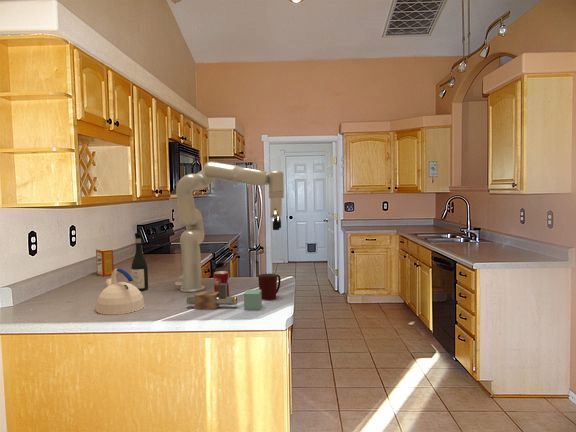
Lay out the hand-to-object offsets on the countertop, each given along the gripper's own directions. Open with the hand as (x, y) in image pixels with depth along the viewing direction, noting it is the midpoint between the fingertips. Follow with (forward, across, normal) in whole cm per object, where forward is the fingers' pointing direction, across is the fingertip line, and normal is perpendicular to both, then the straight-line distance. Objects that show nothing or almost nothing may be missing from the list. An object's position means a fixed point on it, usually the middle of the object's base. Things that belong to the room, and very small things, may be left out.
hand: (277, 229), depth 229 cm
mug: (+31, +17, -2) cm, 36 cm away
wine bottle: (+31, 0, -73) cm, 79 cm away
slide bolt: (+30, +34, -26) cm, 52 cm away
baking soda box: (+31, -41, -112) cm, 123 cm away
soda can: (+31, +15, -26) cm, 43 cm away
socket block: (+31, +34, -8) cm, 47 cm away
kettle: (+32, +36, -67) cm, 82 cm away
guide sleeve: (+31, +34, -28) cm, 54 cm away
